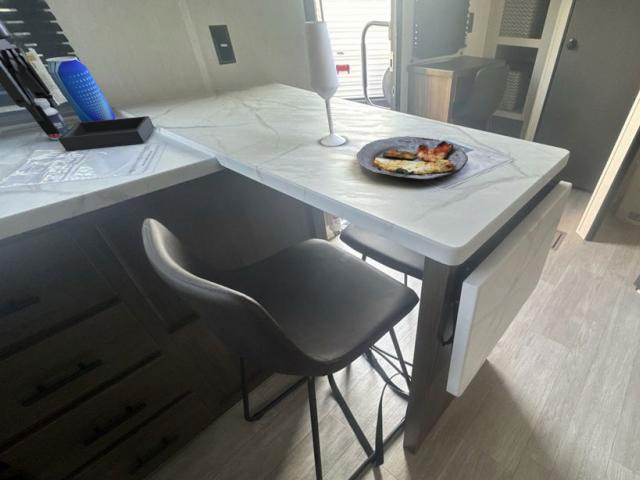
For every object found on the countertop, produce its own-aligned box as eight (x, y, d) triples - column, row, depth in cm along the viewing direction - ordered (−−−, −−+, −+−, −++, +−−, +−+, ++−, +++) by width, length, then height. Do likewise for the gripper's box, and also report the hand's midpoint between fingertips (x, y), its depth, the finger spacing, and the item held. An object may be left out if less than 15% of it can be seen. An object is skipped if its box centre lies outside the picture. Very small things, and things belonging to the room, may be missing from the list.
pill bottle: (50, 141, 84) (21, 104, 78) (50, 136, 87) (23, 99, 81) (74, 137, 87) (48, 100, 80) (74, 132, 90) (49, 96, 83)
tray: (66, 151, 80) (57, 138, 77) (85, 133, 89) (77, 122, 86) (144, 143, 83) (137, 130, 81) (154, 127, 92) (148, 115, 90)
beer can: (105, 119, 98) (66, 55, 86) (125, 122, 96) (88, 56, 84) (78, 128, 92) (32, 60, 81) (99, 130, 90) (55, 62, 79)
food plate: (472, 151, 79) (474, 136, 76) (457, 194, 63) (459, 177, 61) (378, 141, 84) (378, 127, 81) (343, 178, 68) (341, 162, 66)
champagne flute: (324, 136, 87) (305, 20, 69) (348, 137, 86) (335, 20, 69) (317, 145, 82) (295, 23, 65) (342, 146, 81) (327, 23, 64)
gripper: (-29, 18, 64) (60, 139, 80) (16, 12, 76) (85, 119, 93) (-76, 20, 62) (25, 143, 79) (-23, 13, 74) (55, 121, 91)
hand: (57, 130), depth 86 cm, fingers closed on pill bottle, 5 cm apart
